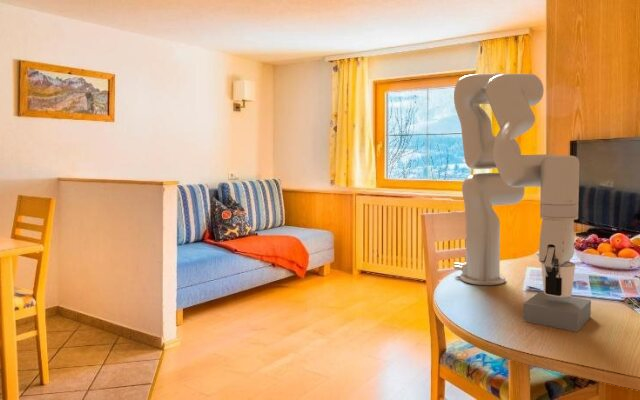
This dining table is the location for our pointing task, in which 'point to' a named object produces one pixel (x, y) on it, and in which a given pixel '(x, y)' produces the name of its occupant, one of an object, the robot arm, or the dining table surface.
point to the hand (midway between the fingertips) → (557, 290)
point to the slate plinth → (557, 311)
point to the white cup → (566, 276)
